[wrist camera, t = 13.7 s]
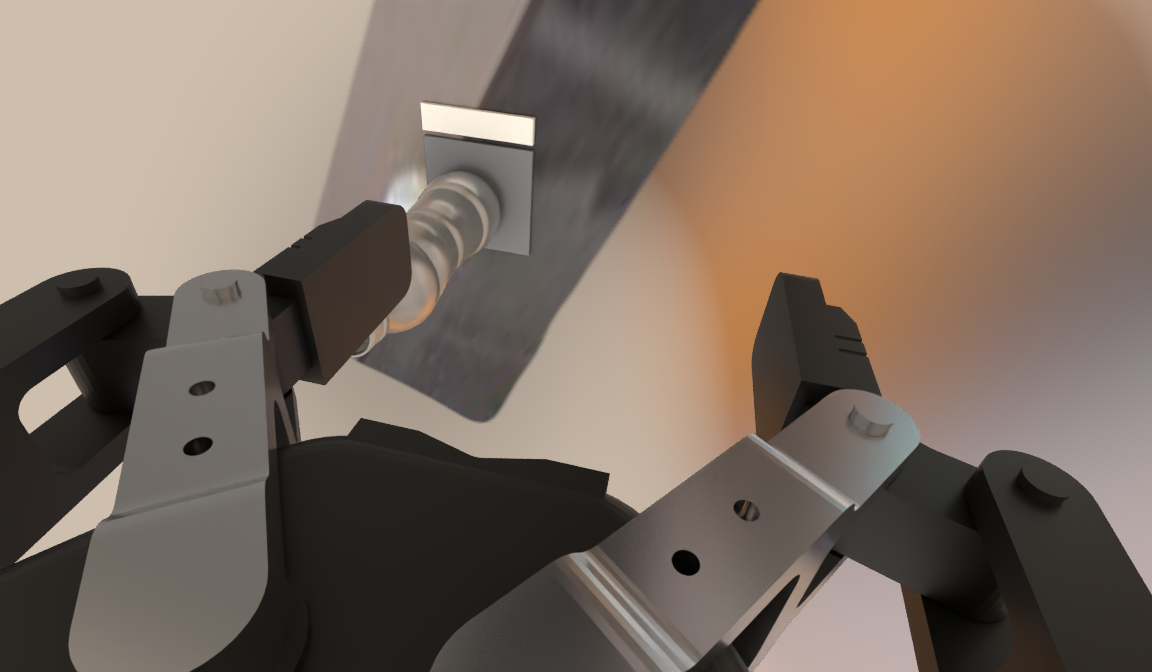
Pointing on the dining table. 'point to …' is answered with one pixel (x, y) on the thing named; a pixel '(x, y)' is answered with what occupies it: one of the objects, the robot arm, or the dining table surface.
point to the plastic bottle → (440, 244)
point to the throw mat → (487, 163)
